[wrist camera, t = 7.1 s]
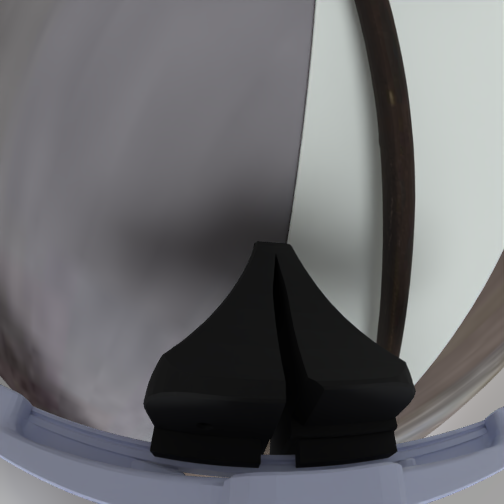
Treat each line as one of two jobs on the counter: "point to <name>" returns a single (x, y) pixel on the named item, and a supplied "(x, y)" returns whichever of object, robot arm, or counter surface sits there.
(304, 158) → the tool mat
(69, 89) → the counter surface
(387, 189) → the dark brown hooked rod
